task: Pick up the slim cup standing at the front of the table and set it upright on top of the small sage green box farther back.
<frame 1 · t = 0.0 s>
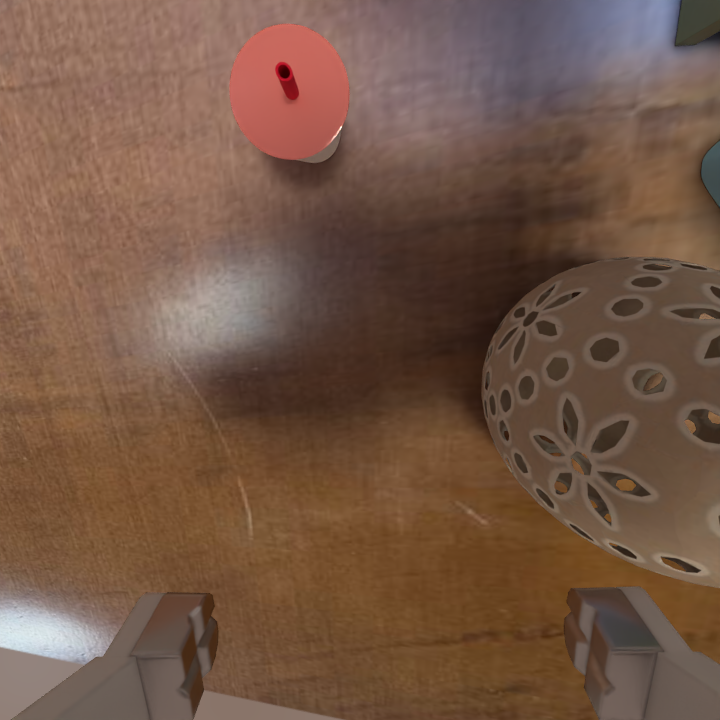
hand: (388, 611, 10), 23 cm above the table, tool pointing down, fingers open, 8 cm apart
cup: (313, 134, 29), on the table
ornament: (558, 352, 32), on the table
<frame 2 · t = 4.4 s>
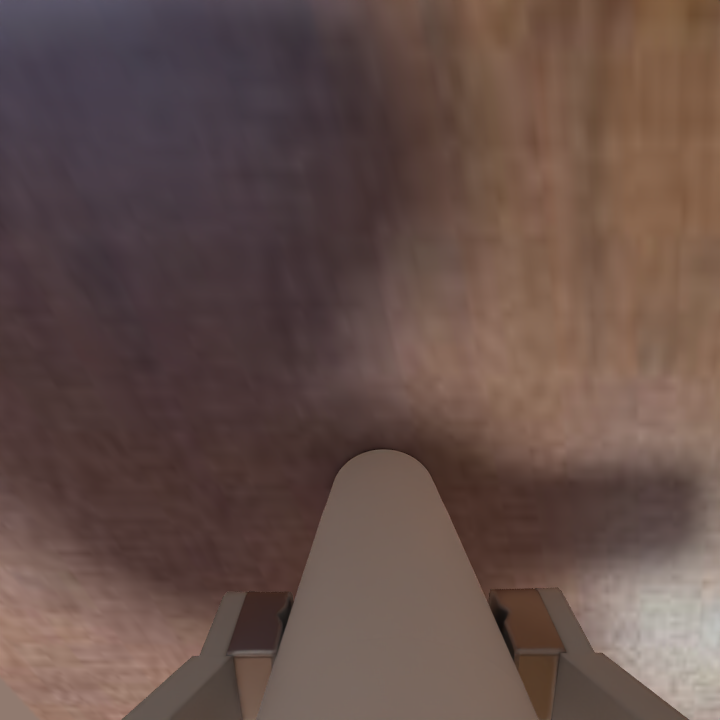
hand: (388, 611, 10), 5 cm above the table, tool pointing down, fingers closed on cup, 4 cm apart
cup: (383, 491, 15), on the table, touching gripper
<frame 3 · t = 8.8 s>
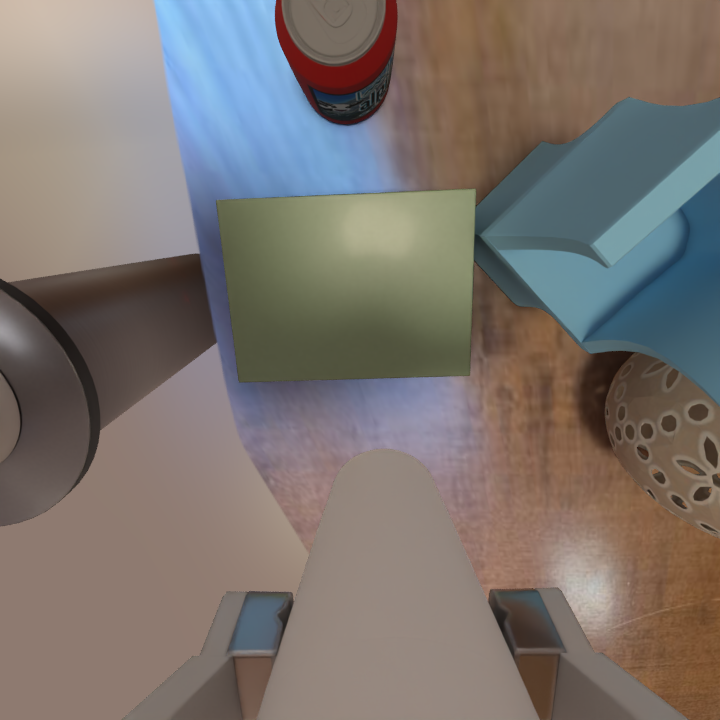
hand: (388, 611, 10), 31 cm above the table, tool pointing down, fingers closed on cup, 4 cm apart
sage green box: (354, 275, 38), on the table
beverage can: (346, 79, 34), on the table
vase: (532, 232, 37), on the table
cup: (383, 491, 15), point 26 cm above the table, touching gripper
ornament: (653, 385, 41), on the table
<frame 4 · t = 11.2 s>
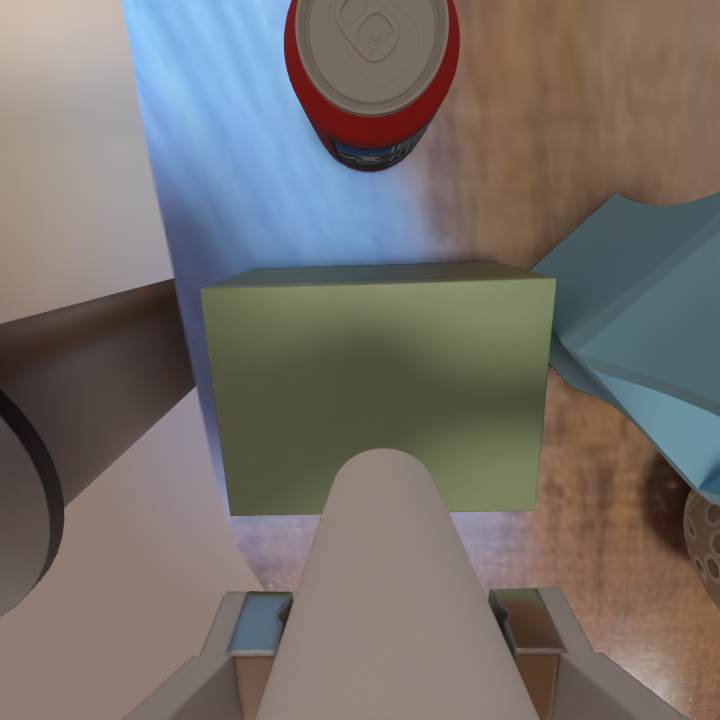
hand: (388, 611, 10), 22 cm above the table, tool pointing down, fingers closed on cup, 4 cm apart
sage green box: (375, 352, 31), on the table
beverage can: (370, 114, 27), on the table
vase: (596, 302, 30), on the table
cup: (383, 490, 15), point 17 cm above the table, touching gripper
when the fingers open (14 cm above the table, at t = 13.3 s): cup stays where it is, resting on sage green box.
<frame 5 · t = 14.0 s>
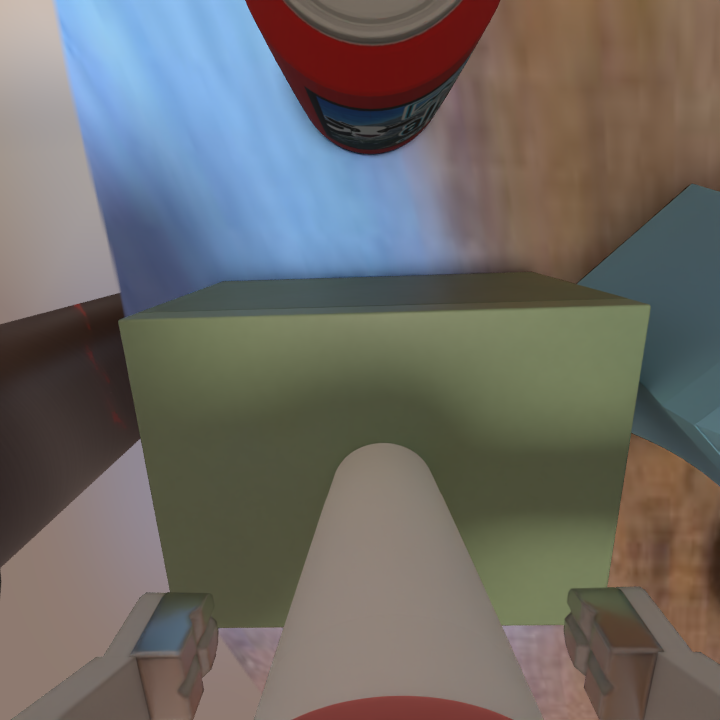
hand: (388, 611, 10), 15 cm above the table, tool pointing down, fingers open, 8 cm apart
sage green box: (377, 386, 25), on the table
beverage can: (371, 78, 20), on the table
vase: (660, 324, 23), on the table
cup: (382, 484, 15), point 10 cm above the table, touching sage green box
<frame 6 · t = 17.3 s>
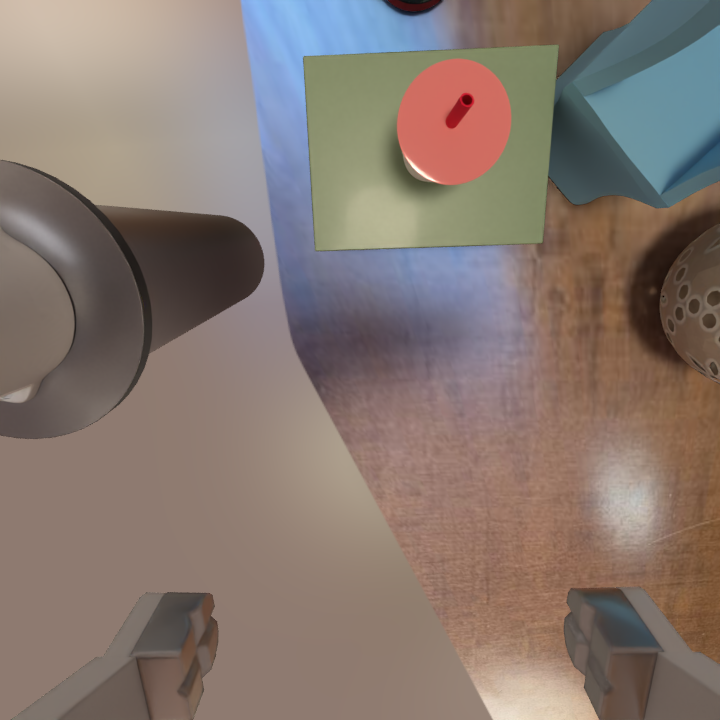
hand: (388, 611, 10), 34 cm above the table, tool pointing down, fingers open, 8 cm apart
sage green box: (414, 172, 39), on the table
vase: (589, 128, 38), on the table
cup: (428, 154, 30), point 10 cm above the table, touching sage green box
ornament: (701, 287, 42), on the table
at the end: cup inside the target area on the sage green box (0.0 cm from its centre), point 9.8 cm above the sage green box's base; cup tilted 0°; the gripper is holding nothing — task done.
